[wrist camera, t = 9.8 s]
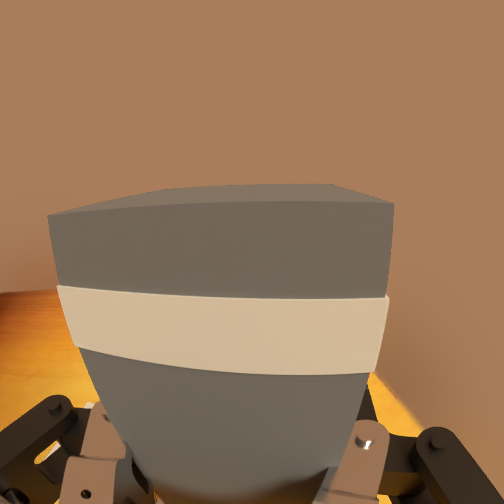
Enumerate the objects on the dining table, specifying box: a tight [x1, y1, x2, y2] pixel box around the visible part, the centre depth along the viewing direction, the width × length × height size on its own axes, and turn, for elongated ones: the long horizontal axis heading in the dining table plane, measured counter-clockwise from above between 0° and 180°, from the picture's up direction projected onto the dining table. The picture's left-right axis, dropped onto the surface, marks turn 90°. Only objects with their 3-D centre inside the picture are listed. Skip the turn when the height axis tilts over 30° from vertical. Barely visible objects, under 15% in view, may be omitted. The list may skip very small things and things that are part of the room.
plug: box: [48, 184, 394, 504], centre depth 8 cm, size 5×5×16 cm
